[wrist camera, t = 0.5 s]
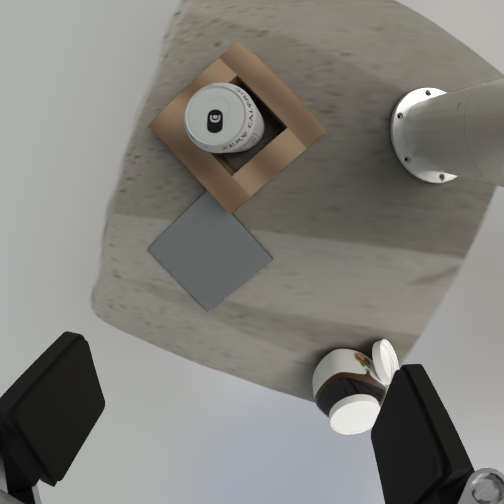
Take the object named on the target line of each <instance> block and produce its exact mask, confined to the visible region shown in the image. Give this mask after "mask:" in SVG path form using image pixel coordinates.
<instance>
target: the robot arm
mask: <svg viewBox="0 0 504 504" xmlns="http://www.w3.org/2000/svg"><path fill="white" fill-rule="evenodd" d="M425 92H426V94H427V95H426V94H425ZM397 115H399V118H398V117H397ZM390 134H391V141H392V145H393V149H394V151H395V153H396V155H397V157H398V159H399V160H400V162H401V164H402V165H403V166H404V167H405V168H406V169H407V170H408V171H409V172H410V173H411V174H413V175H414V176H415V177H417V178H419V179H421V180H424V181H427V182H431V183H445V182H448V181H451V180H453V179H455V178H456V177H458V176H460V177H465V178H469V179H473V180H478V181H482V182H486V183H490V184H494V185H497V186H501V187H504V78H502V79H499V80H495V81H491V82H487V83H483V84H479V85H475V86H471V87H467V88H464V89H460V90H456V91H452V92H449V93H446V92H444V91H442V90H439V89H436V88H429V87H426V88H419V89H416V90H413V91H411V92H409V93H407V94H406V95H405V96H403V97H402V98H401V99H400V101H399V102H398V103H397V105H396V107H395V109H394V111H393V114H392V117H391V123H390ZM405 157H406V158H407V160H406V161H405ZM439 175H440V178H439ZM104 407H105V400H104V397H103V393H102V390H101V387H100V384H99V380H98V377H97V374H96V370H95V367H94V363H93V359H92V355H91V351H90V348H89V344H88V342H87V341H86V340H85V339H84V337H83V336H82V335H81V334H77V333H72V332H64V333H63V334H62V335H61V336H60V337H59V338H58V339H57V340H56V341H55V342H54V343H53V344H52V345H51V346H50V347H49V348H48V349H47V350H46V351H45V352H44V353H43V354H42V355H41V356H40V357H39V358H38V359H37V360H36V361H35V362H34V363H33V364H32V365H31V366H30V367H29V368H28V369H27V370H26V371H25V372H24V373H23V374H22V375H21V376H20V377H19V378H18V379H17V380H16V381H15V383H14V384H13V385H12V386H11V387H10V388H9V389H8V390H7V391H6V392H5V393H4V394H3V396H2V397H1V398H0V504H41V500H40V496H39V492H38V487H37V482H38V480H39V479H40V480H41V481H43V482H45V483H47V484H49V485H51V486H53V487H54V486H55V485H56V483H57V481H61V480H62V479H63V477H64V476H65V474H66V472H67V471H68V469H69V467H70V466H71V464H72V462H73V460H74V459H75V457H76V455H77V453H78V452H79V450H80V448H81V447H82V445H83V443H84V442H85V440H86V438H87V437H88V435H89V433H90V431H91V430H92V428H93V427H94V425H95V423H96V422H97V420H98V418H99V417H100V415H101V414H102V412H103V410H104ZM371 440H372V444H373V448H374V452H375V457H376V462H377V466H378V471H379V475H380V480H381V484H382V489H383V495H384V500H385V504H504V475H503V474H502V473H501V472H500V471H498V470H496V469H492V468H482V469H480V470H477V471H474V468H473V466H472V464H471V462H470V459H469V457H468V455H467V453H466V450H465V448H464V446H463V444H462V442H461V440H460V437H459V435H458V433H457V431H456V429H455V427H454V425H453V423H452V421H451V419H450V417H449V415H448V413H447V411H446V409H445V407H444V405H443V403H442V401H441V400H440V397H439V396H438V394H437V392H436V390H435V388H434V386H433V384H432V382H431V380H430V379H429V377H428V375H427V373H426V371H425V370H424V368H423V366H422V365H421V364H409V365H402V366H401V368H400V370H396V371H395V373H394V375H393V378H392V381H391V383H390V386H389V389H388V391H387V394H386V396H385V399H384V401H383V404H382V406H381V409H380V411H379V414H378V416H377V418H376V421H375V423H374V425H373V427H372V431H371Z"/></svg>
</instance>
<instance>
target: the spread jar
mask: <svg viewBox="0 0 504 504" xmlns="http://www.w3.org/2000/svg"><path fill="white" fill-rule="evenodd" d="M372 357H373V361H372V360H371V359H370V358H369V357H368V356H367V355H365V354H364V353H362V352H361V351H359V350H356V349H353V348H338V349H335V350H333V351H331V352H329V353H328V354H327V355H326V356H325V357H324V358H323V359H322V360H321V361H320V363H319V364H318V366H317V367H316V369H315V372H314V375H313V395H314V399H315V403H316V405H317V406H318V408H319V409H320V410H321V411H322V412H323V413H324V414H325V415H326V416H327V417H329V419H330V425H331V428H332V429H333V430H334V431H336V432H337V433H340V434H345V435H351V434H357V433H361V432H364V431H366V430H368V429H370V428H371V427H373V425H374V423H375V421H376V418H377V416H378V414H379V411H380V406H381V404H382V403H383V401H384V398H385V396H386V388H385V384H386V385H389V384H390V383H391V381H392V378H393V375H394V373H395V371H396V370H399V365H398V360H397V357H396V354H395V351H394V349H393V347H392V345H391V344H390V343H389V342H388V341H387V340H386V339H382V340H380V341H377V342H375V343H374V345H373V348H372Z"/></svg>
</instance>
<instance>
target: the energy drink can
mask: <svg viewBox="0 0 504 504" xmlns="http://www.w3.org/2000/svg"><path fill="white" fill-rule="evenodd" d="M184 125H185V129H186V132H187V134H188V136H189V138H190V139H191V140H192V142H193V143H194V144H196V145H197V146H198V147H199V148H201V149H203V150H205V151H208V152H213V153H228V152H244V151H248V150H250V149H252V148H254V147H255V146H256V145H257V144H258V143H259V142H260V141H261V139H262V137H263V135H264V130H265V124H264V120H263V117H262V115H261V113H260V112H259V110H258V109H257V107H256V105H255V104H254V102H253V100H252V99H251V97H250V96H249V95H248V94H247V93H246V92H245V91H244V90H243V89H242V88H240V87H238V86H236V85H233V84H230V83H213V84H210V85H207V86H205V87H203V88H201V89H200V90H199V91H197V92H196V93H195V94H194V95H193V96H192V97H191V99H190V100H189V102H188V104H187V106H186V109H185V114H184Z"/></svg>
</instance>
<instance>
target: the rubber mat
mask: <svg viewBox="0 0 504 504" xmlns="http://www.w3.org/2000/svg"><path fill="white" fill-rule="evenodd" d="M148 250H149V251H150V252H151V253H152V255H153V256H154V257H155V258H156V259H157V260H158V261H159V262H160V263H161V264H162V265H163V266H164V267H165V268H166V269H167V271H168V272H169V273H170V274H171V275H172V276H173V277H174V278H175V279H176V280H177V281H178V282H179V283H180V284H181V285H182V286H183V287H184V288H185V289H186V290H187V291H188V292H189V293H190V294H191V295H192V296H193V297H194V298H195V299H196V300H197V301H198V302H199V303H200V304H201V305H202V306H203V307H204V308H205V309H206V310H207V311H209V310H210V309H211V308H212V307H214V306H215V305H216V304H217V303H219V302H220V301H221V300H223V299H224V298H225V297H226V296H228V295H229V294H230V293H231V292H233V291H234V290H235V289H236V288H238V287H239V286H240V285H241V284H243V283H244V282H245V281H246V280H248V279H249V278H250V277H251V276H253V275H254V274H255V273H256V272H258V271H259V270H260V269H261V268H263V267H264V266H265V265H266V264H268V263H269V262H270V261H271V260H273V258H272V256H271V255H270V254H269V253H268V252H267V251H266V250H265V249H264V248H263V247H262V245H261V244H260V243H259V242H258V241H257V240H256V239H255V238H254V237H253V236H252V234H251V233H250V232H249V231H248V230H247V229H246V228H245V227H244V226H243V225H242V224H241V222H240V221H239V220H238V219H237V218H236V217H235V216H234V215H233V214H231V215H230V214H229V213H228V212H227V211H226V209H225V208H224V207H223V206H222V205H221V204H220V203H219V202H218V201H217V200H216V199H215V197H214V196H213V195H212V194H211V193H210V192H209V191H208V190H207V191H206V192H205V193H204V194H203V195H202V196H201V197H200V198H199V199H198V200H197V201H196V202H195V203H194V204H192V205H191V206H190V207H189V208H188V209H187V210H186V211H185V212H184V213H183V214H182V215H181V216H180V217H179V218H178V219H177V220H176V221H175V222H174V223H173V224H172V225H171V226H170V227H169V228H168V229H167V230H166V231H165V232H164V233H163V234H162V235H161V236H160V237H159V238H158V239H157V240H156V241H155V242H154V243H153V244H152V245H151V246H150V247H149V248H148Z"/></svg>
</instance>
